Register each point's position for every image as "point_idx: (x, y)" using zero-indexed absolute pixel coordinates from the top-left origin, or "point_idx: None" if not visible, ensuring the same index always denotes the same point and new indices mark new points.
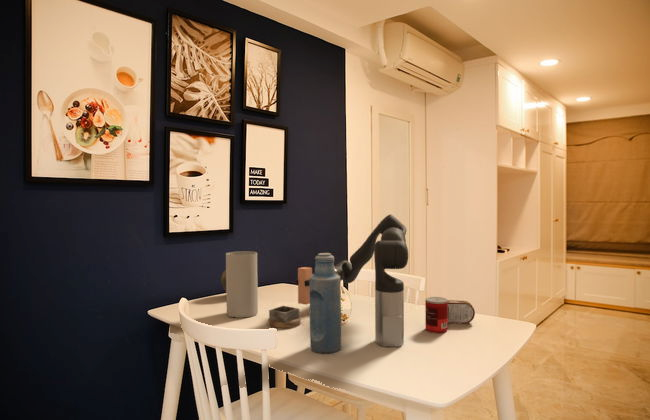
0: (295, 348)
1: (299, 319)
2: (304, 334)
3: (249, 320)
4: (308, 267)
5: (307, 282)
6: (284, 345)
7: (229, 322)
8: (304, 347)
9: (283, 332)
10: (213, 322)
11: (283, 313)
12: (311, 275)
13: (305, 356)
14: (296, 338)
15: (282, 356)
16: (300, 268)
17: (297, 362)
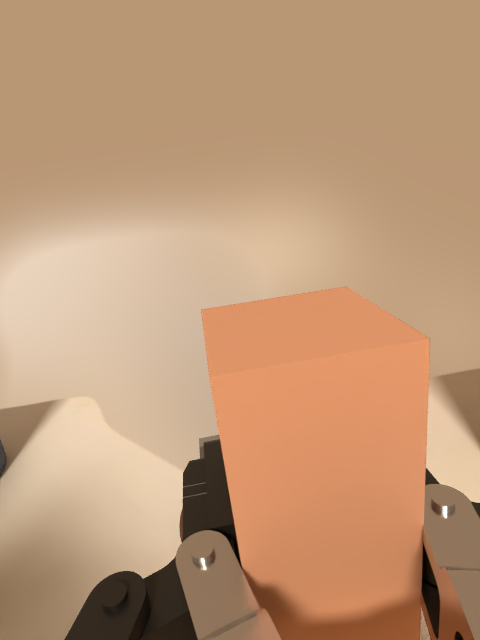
0: (56, 435)
1: None
2: (87, 512)
3: (436, 452)
4: (310, 360)
5: (195, 466)
6: (100, 428)
7: (441, 403)
8: (31, 452)
9: (182, 472)
10: (467, 378)
11: (212, 438)
12: (230, 500)
13: (5, 429)
14: (95, 472)
15: (66, 402)
16: (306, 295)
17: (14, 408)
